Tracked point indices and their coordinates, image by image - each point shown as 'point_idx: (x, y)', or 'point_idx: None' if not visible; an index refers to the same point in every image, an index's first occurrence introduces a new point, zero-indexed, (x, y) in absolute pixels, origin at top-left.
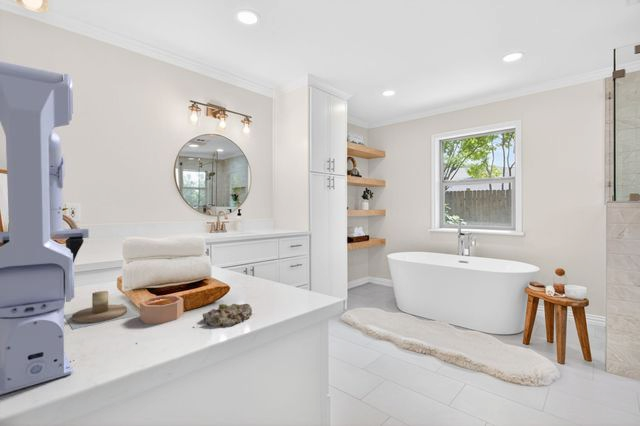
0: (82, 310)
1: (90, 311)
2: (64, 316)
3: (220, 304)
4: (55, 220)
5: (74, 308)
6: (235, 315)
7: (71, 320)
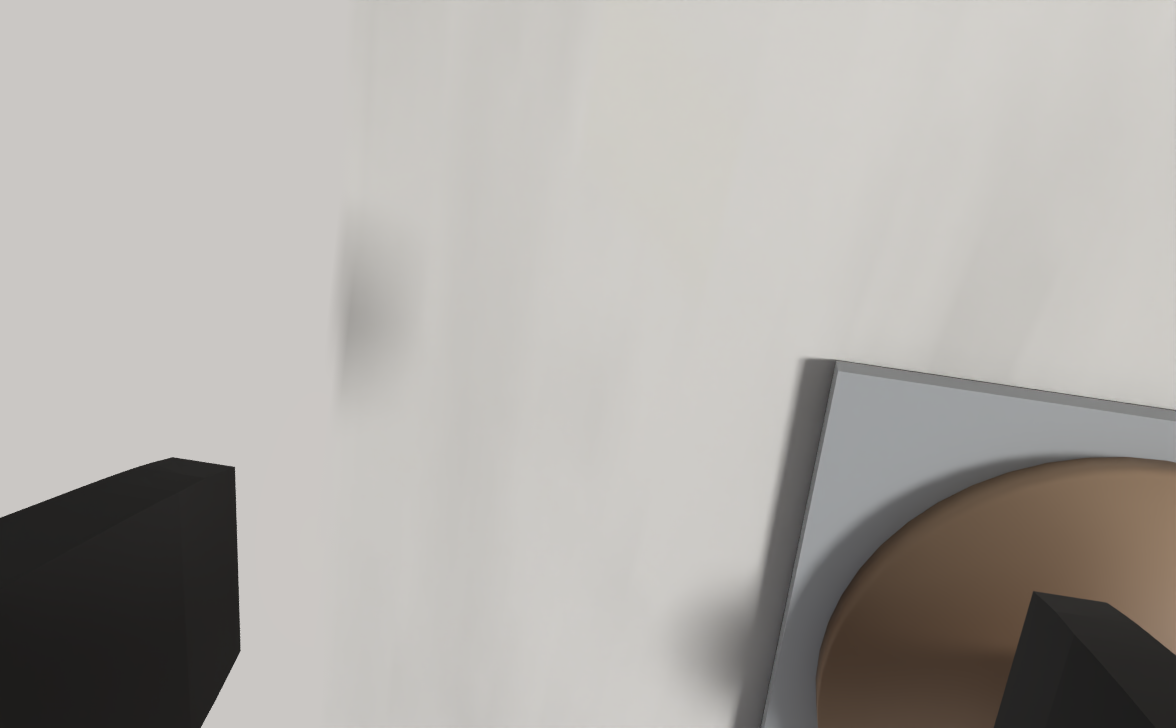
0: (998, 527)
1: None
2: (825, 432)
3: None
4: None
5: (1092, 22)
6: None
7: (819, 631)
